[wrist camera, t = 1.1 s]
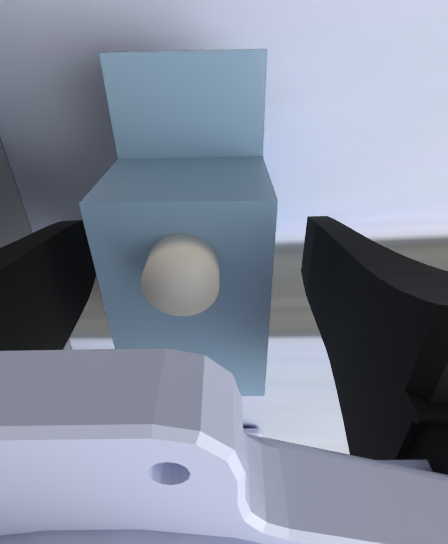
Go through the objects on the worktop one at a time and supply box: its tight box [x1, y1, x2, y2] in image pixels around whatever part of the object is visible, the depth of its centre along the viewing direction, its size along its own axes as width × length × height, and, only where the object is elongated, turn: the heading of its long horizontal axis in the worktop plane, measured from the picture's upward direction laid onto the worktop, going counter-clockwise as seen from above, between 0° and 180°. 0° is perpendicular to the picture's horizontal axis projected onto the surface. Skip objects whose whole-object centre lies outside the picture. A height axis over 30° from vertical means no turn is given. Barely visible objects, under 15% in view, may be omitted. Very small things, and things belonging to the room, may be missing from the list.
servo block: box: [79, 49, 278, 396], centre depth 11 cm, size 11×4×7 cm, turn 1°
